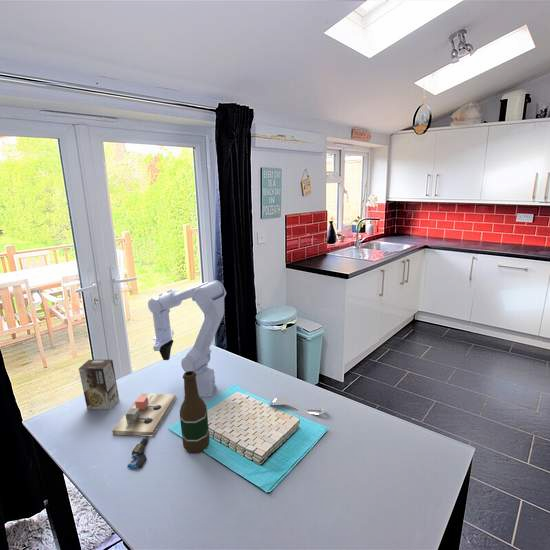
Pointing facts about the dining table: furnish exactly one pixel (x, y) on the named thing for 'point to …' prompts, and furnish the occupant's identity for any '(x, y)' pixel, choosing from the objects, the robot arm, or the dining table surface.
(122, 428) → the beige slider panel
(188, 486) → the dining table surface
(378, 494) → the dining table surface
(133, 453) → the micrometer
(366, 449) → the dining table surface
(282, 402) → the stirrer
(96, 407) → the coffee box
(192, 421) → the beer bottle
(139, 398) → the block
